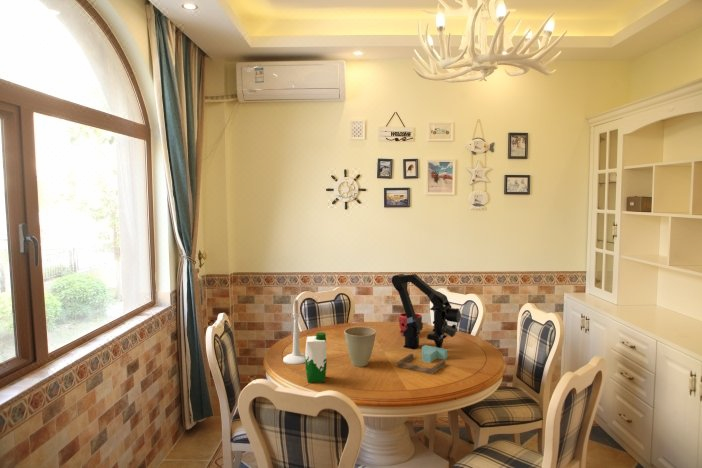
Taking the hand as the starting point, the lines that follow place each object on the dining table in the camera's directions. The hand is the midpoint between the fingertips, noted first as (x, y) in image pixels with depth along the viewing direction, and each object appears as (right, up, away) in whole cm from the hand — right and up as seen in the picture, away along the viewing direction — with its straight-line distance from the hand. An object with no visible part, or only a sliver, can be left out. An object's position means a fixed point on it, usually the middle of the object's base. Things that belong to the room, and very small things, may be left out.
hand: (439, 349), depth 229 cm
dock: (-12, -3, -18) cm, 21 cm away
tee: (-6, -2, -8) cm, 10 cm away
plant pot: (-41, -3, -16) cm, 44 cm away
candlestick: (-72, -3, -10) cm, 72 cm away
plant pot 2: (-11, 0, +31) cm, 33 cm away
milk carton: (-60, -4, -35) cm, 70 cm away
